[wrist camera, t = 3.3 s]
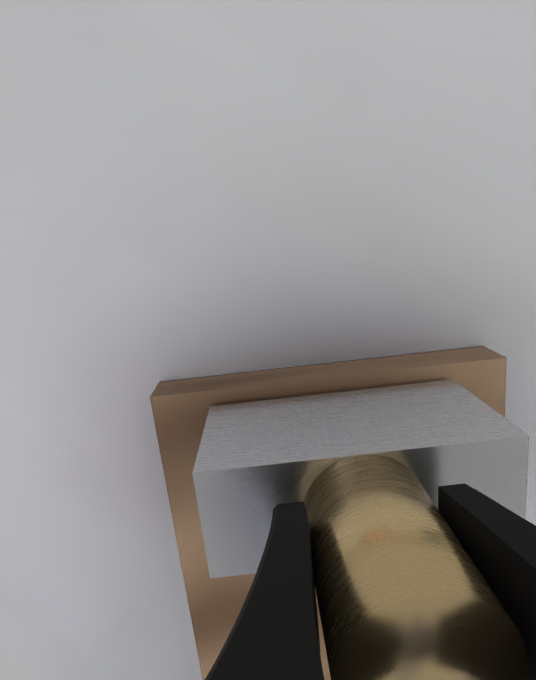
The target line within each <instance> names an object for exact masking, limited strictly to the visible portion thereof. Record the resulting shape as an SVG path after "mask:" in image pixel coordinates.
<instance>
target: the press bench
mask: <svg viewBox="0 0 536 680" xmlns="http://www.w3.org/2000/svg"><path fill="white" fill-rule="evenodd" d="M452 379H453V380H454V381H455V382H457V383H458V384H459V385H461V386H462V387H464V388H465V389H466V390H468V391H469V392H470V393H472V394H473V395H474V396H476V397H477V398H478V399H480V400H481V401H483V402H484V403H485V404H487V405H488V406H489V407H491V408H492V409H493V410H495V411H496V412H497V413H499V414H500V415H502V416H503V417H504V416H505V386H506V357H504V356H502V355H500V354H498V353H496V352H494V351H492V350H490V349H488V348H486V347H484V346H479V347H470V348H461V349H452V350H443V351H434V352H425V353H416V354H407V355H398V356H389V357H380V358H371V359H362V360H353V361H344V362H335V363H326V364H317V365H308V366H299V367H290V368H281V369H272V370H263V371H254V372H245V373H236V374H227V375H218V376H209V377H200V378H191V379H182V380H173V381H164V382H159V384H158V385H157V387H156V389H155V390H154V392H153V393H152V395H151V396H150V400H151V405H152V411H153V416H154V421H155V427H156V432H157V437H158V443H159V448H160V453H161V459H162V464H163V469H164V475H165V480H166V485H167V491H168V496H169V501H170V507H171V512H172V517H173V523H174V528H175V533H176V539H177V544H178V550H179V555H180V560H181V566H182V571H183V576H184V582H185V587H186V592H187V598H188V603H189V608H190V614H191V619H192V624H193V630H194V635H195V640H196V646H197V651H198V656H199V662H200V667H201V672H202V678H203V680H205V678H206V677H207V675H208V673H209V671H210V670H211V668H212V666H213V664H214V663H215V661H216V659H217V657H218V655H219V653H220V651H221V650H222V648H223V646H224V644H225V642H226V640H227V638H228V636H229V634H230V632H231V630H232V628H233V626H234V624H235V622H236V620H237V617H238V615H239V613H240V611H241V608H242V606H243V604H244V601H245V599H246V597H247V594H248V592H249V590H250V587H251V585H252V583H253V580H254V577H255V575H256V573H255V574H246V575H237V576H228V577H219V578H210V575H209V569H208V563H207V557H206V551H205V545H204V540H203V534H202V528H201V522H200V516H199V510H198V504H197V498H196V492H195V486H194V480H193V474H192V473H193V469H194V465H195V461H196V457H197V454H198V450H199V446H200V442H201V438H202V435H203V431H204V427H205V423H206V419H207V416H208V412H209V408H210V406H218V405H227V404H236V403H245V402H254V401H263V400H272V399H281V398H290V397H299V396H308V395H317V394H326V393H335V392H344V391H353V390H362V389H371V388H380V387H389V386H398V385H407V384H416V383H425V382H434V381H443V380H452ZM315 592H316V589H315ZM316 603H317V613H318V624H319V638H320V653H321V663H322V669H323V674H324V680H331V677H330V671H329V665H328V660H327V654H326V648H325V642H324V636H323V630H322V624H321V618H320V613H319V607H318V601H317V595H316Z"/></svg>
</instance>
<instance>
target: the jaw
mask: <svg viewBox="0 0 536 680" xmlns="http://www.w3.org/2000/svg"><path fill="white" fill-rule="evenodd" d="M528 448H529V435H527V434H526V433H525V432H523V431H522V430H521V429H519V428H518V427H516V426H515V425H514V424H512V423H511V422H510V421H508V420H507V419H506V418H504V417H503V416H502V415H500V414H499V413H497V412H496V411H495V410H493V409H492V408H491V407H489V406H488V405H487V404H485V403H484V402H483V401H481V400H480V399H478V398H477V397H476V396H474V395H473V394H472V393H470V392H469V391H468V390H466V389H465V388H464V387H462V386H461V385H459V384H458V383H457V382H455V381H454V380H453V379H452V380H443V381H434V382H425V383H416V384H407V385H398V386H389V387H380V388H371V389H362V390H353V391H344V392H335V393H326V394H317V395H308V396H299V397H290V398H281V399H272V400H263V401H254V402H245V403H236V404H227V405H218V406H210V408H209V412H208V416H207V419H206V423H205V427H204V431H203V435H202V438H201V442H200V446H199V450H198V454H197V457H196V461H195V465H194V469H193V473H192V474H193V480H194V486H195V492H196V498H197V504H198V510H199V516H200V522H201V528H202V534H203V540H204V545H205V551H206V557H207V563H208V569H209V575H210V578H219V577H228V576H237V575H246V574H255V573H256V572H257V569H258V566H259V563H260V560H261V557H262V555H263V552H264V549H265V545H266V542H267V538H268V535H269V531H270V527H271V522H272V515H273V509H274V508H275V506H276V505H277V504H285V503H294V502H302V501H304V503H305V507H306V511H307V516H308V520H309V530H310V540H311V551H312V561H313V573H314V583H315V589H316V595H317V601H318V607H319V613H320V618H321V624H322V630H323V636H324V642H325V648H326V654H327V660H328V665H329V671H330V677H331V680H524V676H525V672H526V665H527V659H526V650H525V645H524V642H523V639H522V637H521V634H520V633H519V631H518V629H517V628H516V626H515V625H514V623H513V622H512V620H511V619H510V617H509V616H508V614H507V613H506V611H505V610H504V608H503V607H502V605H501V604H500V602H499V601H498V599H497V598H496V596H495V595H494V593H493V592H492V590H491V589H490V587H489V586H488V584H487V582H486V581H485V579H484V578H483V576H482V575H481V573H480V572H479V570H478V569H477V567H476V566H475V564H474V563H473V561H472V560H471V558H470V557H469V555H468V554H467V552H466V551H465V549H464V548H463V546H462V545H461V543H460V542H459V540H458V539H457V537H456V536H455V534H454V533H453V531H452V530H451V528H450V527H449V525H448V524H447V522H446V521H445V519H444V518H443V516H442V515H441V513H440V512H439V510H438V486H446V485H455V484H464V483H465V484H467V485H469V486H470V487H472V488H474V489H476V490H477V491H479V492H481V493H483V494H484V495H486V496H488V497H489V498H491V499H492V500H494V501H496V502H497V503H499V504H501V505H502V506H504V507H505V508H507V509H509V510H510V511H512V512H514V513H515V514H517V515H519V516H520V517H522V518H523V519H525V509H526V488H527V468H528Z"/></svg>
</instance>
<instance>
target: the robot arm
mask: <svg viewBox="0 0 536 680" xmlns="http://www.w3.org/2000/svg"><path fill="white" fill-rule="evenodd" d="M438 510H439V512H440V513H441V515H442V516H443V518H444V519H445V521H446V522H447V524H448V525H449V527H450V528H451V530H452V531H453V533H454V534H455V536H456V537H457V539H458V540H459V542H460V543H461V545H462V546H463V548H464V549H465V551H466V552H467V554H468V555H469V557H470V558H471V560H472V561H473V563H474V564H475V566H476V567H477V569H478V570H479V572H480V573H481V575H482V576H483V578H484V579H485V581H486V582H487V584H488V586H489V587H490V589H491V590H492V592H493V593H494V595H495V596H496V598H497V599H498V601H499V602H500V604H501V605H502V607H503V608H504V610H505V611H506V613H507V614H508V616H509V617H510V619H511V620H512V622H513V623H514V625H515V626H516V628H517V629H518V631H519V633H520V634H521V637H522V639H523V642H524V645H525V650H526V659H527V665H526V672H525V676H524V680H536V526H535V525H533V524H532V523H530V522H528V521H527V520H525V519H523V518H522V517H520V516H519V515H517V514H515V513H514V512H512V511H510V510H509V509H507V508H505V507H504V506H502V505H501V504H499V503H497V502H496V501H494V500H492V499H491V498H489V497H488V496H486V495H484V494H483V493H481V492H479V491H477V490H476V489H474V488H472V487H470V486H469V485H467V484H465V483H464V484H455V485H446V486H438ZM205 680H324V674H323V669H322V663H321V653H320V638H319V624H318V613H317V603H316V592H315V583H314V573H313V561H312V551H311V540H310V530H309V520H308V516H307V511H306V507H305V503H304V501H302V502H294V503H285V504H277V505H276V506H275V508H274V509H273V515H272V522H271V527H270V531H269V535H268V538H267V542H266V545H265V549H264V552H263V555H262V557H261V560H260V563H259V566H258V569H257V572H256V575H255V577H254V580H253V583H252V585H251V587H250V590H249V592H248V594H247V597H246V599H245V601H244V604H243V606H242V608H241V611H240V613H239V615H238V617H237V620H236V622H235V624H234V626H233V628H232V630H231V632H230V634H229V636H228V638H227V640H226V642H225V644H224V646H223V648H222V650H221V651H220V653H219V655H218V657H217V659H216V661H215V663H214V664H213V666H212V668H211V670H210V671H209V673H208V675H207V677H206V678H205Z"/></svg>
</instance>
